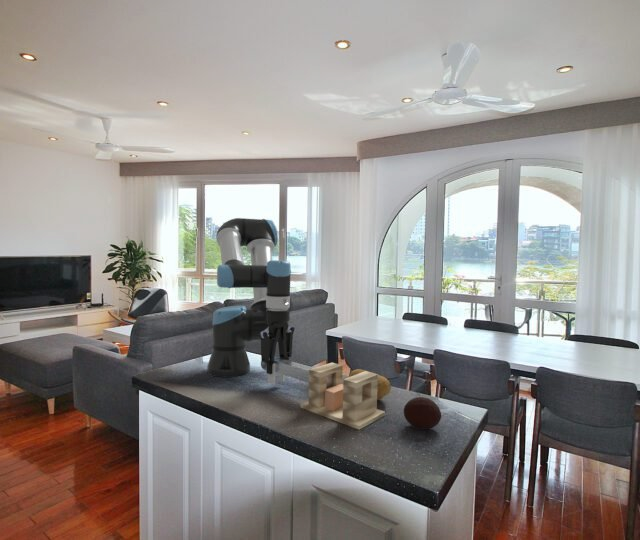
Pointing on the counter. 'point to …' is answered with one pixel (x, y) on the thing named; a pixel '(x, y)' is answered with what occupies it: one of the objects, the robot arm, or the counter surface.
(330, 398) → the spacer
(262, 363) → the shaft
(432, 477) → the counter surface
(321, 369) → the bearing stand
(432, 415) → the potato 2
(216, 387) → the counter surface
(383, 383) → the potato
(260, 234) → the robot arm
